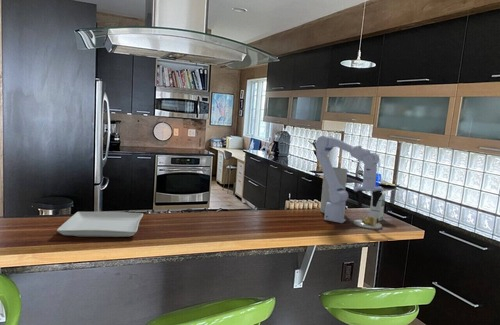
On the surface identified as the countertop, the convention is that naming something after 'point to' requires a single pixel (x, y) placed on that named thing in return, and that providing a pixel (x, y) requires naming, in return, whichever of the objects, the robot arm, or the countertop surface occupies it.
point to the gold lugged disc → (369, 220)
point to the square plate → (101, 224)
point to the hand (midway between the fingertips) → (367, 206)
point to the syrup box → (377, 207)
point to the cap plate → (367, 225)
